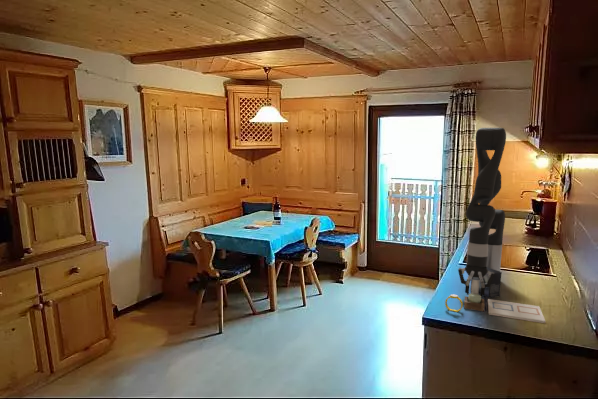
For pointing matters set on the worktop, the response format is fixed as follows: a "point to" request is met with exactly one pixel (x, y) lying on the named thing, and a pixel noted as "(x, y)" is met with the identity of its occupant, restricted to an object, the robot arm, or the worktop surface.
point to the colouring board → (515, 310)
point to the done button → (474, 298)
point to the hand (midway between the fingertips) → (474, 294)
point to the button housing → (474, 305)
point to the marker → (475, 285)
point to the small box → (492, 284)
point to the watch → (453, 297)
